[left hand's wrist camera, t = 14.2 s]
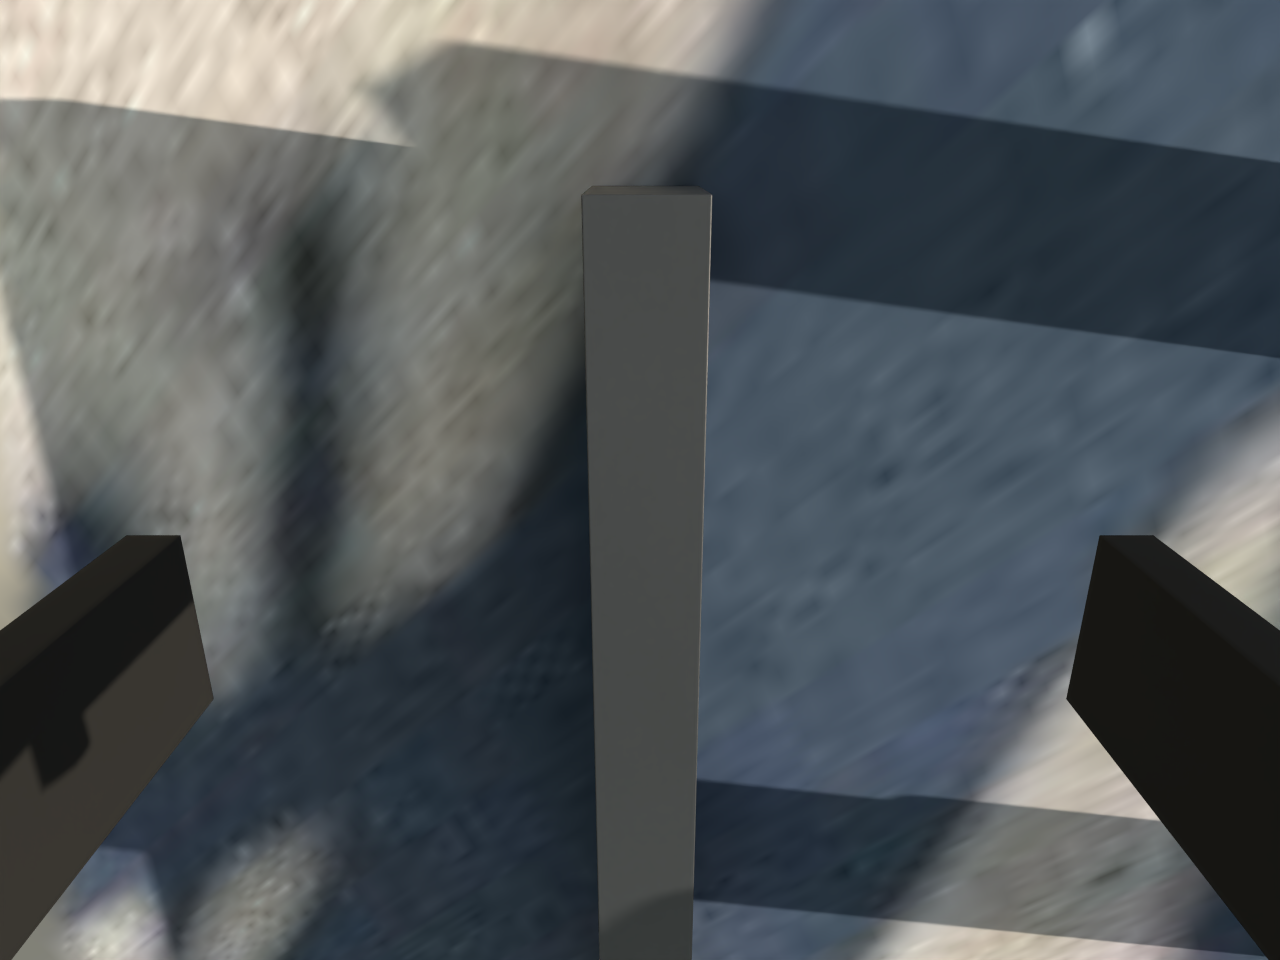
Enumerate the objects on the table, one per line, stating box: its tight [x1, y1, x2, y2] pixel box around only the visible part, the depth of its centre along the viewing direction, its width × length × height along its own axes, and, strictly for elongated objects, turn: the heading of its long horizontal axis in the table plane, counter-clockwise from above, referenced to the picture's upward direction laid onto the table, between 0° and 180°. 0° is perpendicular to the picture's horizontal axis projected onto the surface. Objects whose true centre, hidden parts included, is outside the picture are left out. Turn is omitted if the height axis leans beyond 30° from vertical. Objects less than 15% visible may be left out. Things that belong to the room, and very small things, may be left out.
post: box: [581, 186, 712, 960], centre depth 46 cm, size 55×5×8 cm, turn 0°
